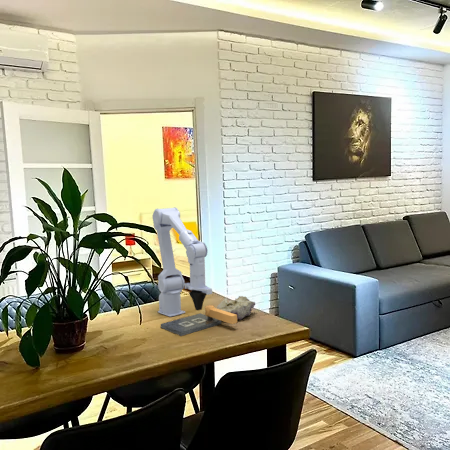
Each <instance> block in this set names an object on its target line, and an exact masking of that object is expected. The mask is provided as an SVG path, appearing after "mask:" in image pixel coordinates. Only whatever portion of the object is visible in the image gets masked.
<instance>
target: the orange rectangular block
mask: <svg viewBox="0 0 450 450" xmlns="http://www.w3.org/2000/svg"><path fill="white" fill-rule="evenodd" d="M204 311H205V312H204V313H205V314H204V315H205V316H208V317H212V318H215V319H218V320H221V322H224V323H227V324H230V325H235V324H237V323H238V319H237V315H236V314H233V313H230V312H226V311H223V310H220V309H217V307H215V305H212V304H211V305H210V304H209V305H208V304H207V305H205V307H204Z"/></svg>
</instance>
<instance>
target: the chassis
mask: <svg viewBox="0 0 450 450" xmlns="http://www.w3.org/2000/svg"><path fill="white" fill-rule="evenodd" d="M221 324H222V321H221V320H218V319H215V318H212V317H208V316H205V314H204V313H201V312H200V313H196V314H193V315H188V316H185V317H181V318H179V319H173V320H170V321H166V322H162V323H160V328H161V329H163V330H165V331H167V332H171V334H172V333H173V334H175V335H177V336H180V337H182V336H187V335H189V334H192V333H195V332H199V331H203V330H206V329H210V328H213V327H216V326H219V325H221Z"/></svg>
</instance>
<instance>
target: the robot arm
mask: <svg viewBox="0 0 450 450" xmlns="http://www.w3.org/2000/svg"><path fill="white" fill-rule="evenodd" d="M152 213H153V214H152V223H153V227H154V230H155V231H156V233H157V238H158V239H157V240H158V246H159V252H160V256H161V263H162V269H163V270H162V271H161V272H160V273H159V274H158V275H157V280H158V284H157V286H158V290H159V291H160V292H159V295H158V305H159V306H158V307H159V308H158V309H159V310H158V311H157V313H159V314H161V315H165V316H167V317H169V318H171V317H175V316H179V315H182V314H185V313H186V311H185V310H182V301H181V293H182V292H183V289H185V290H186V289H188V290H190V291H189V292H188V294H189V296H190V297H191V300H192V303H193V307H194V309H195V311H201V310H202V309H203V306H204V305H203V304H204V301H205V298H206V296H207V295H208V296H209V295H212V294H213V289H212V288H211V287H209V286H207V285H206V265H205V263H206V262H205V259H206V257H207V255H208V247H207V245H206V243H205V242H204V241H200V240H198V238H197V237H196V236H195V234H194V233H193V231H192V230H189V229H187V228H186V226H185V225H184V223H183V221H182V218H181V212H180V211H179V209H178V207H169V208H168V207H167V208H155V209H154V211H153V212H152ZM171 229H174V230H175V232H176V233H177V234H178V235H179V236H178V240H179V242H181V243H180V244H181V245H182V246H183V247H184V248H185V254H186V257H187V262H188V264H189V281H190V282H185V279H184V277H183V273H182V271H181V270H179V269H178V268H176V262H175V256H174V251H173V244H172V238H171V234H170V232H171Z"/></svg>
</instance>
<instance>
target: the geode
mask: <svg viewBox="0 0 450 450" xmlns="http://www.w3.org/2000/svg"><path fill="white" fill-rule="evenodd" d="M255 305H256V302H255V301H252V300H250V299H249V298H248V297H246V296H243V295H238V297H237V298H235V300H233V299H231V300H229V301H228V298H224V299H223V300H222V301H220V303H219V304H217V306H216V308H217V309H220V310H223V311H226V312H230V313H233V314H236V315H237V320H239V321H241V320H243V319H244V318H245V317H247V316H250V315H251V314H252V313H251V312H252V310H253V308H255Z"/></svg>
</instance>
